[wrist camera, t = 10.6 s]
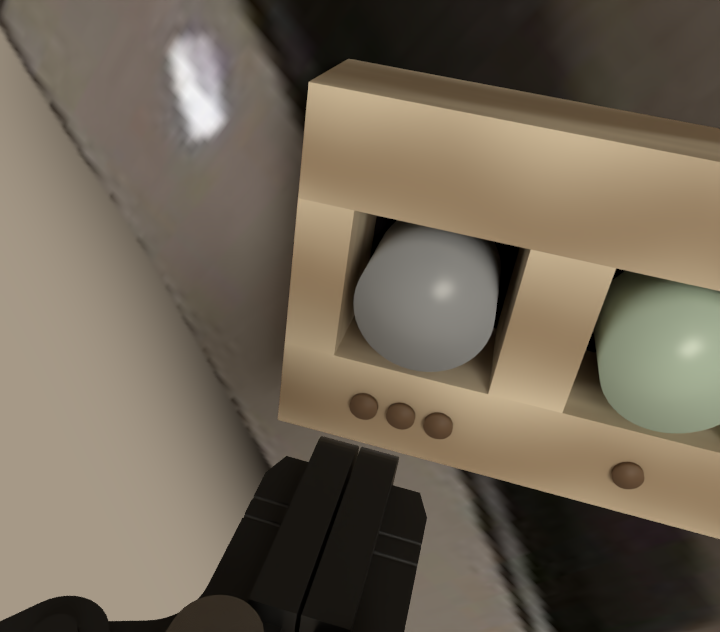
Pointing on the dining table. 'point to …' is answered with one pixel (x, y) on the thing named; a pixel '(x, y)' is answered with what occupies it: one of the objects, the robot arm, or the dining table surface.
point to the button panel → (526, 287)
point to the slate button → (428, 297)
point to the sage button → (660, 353)
